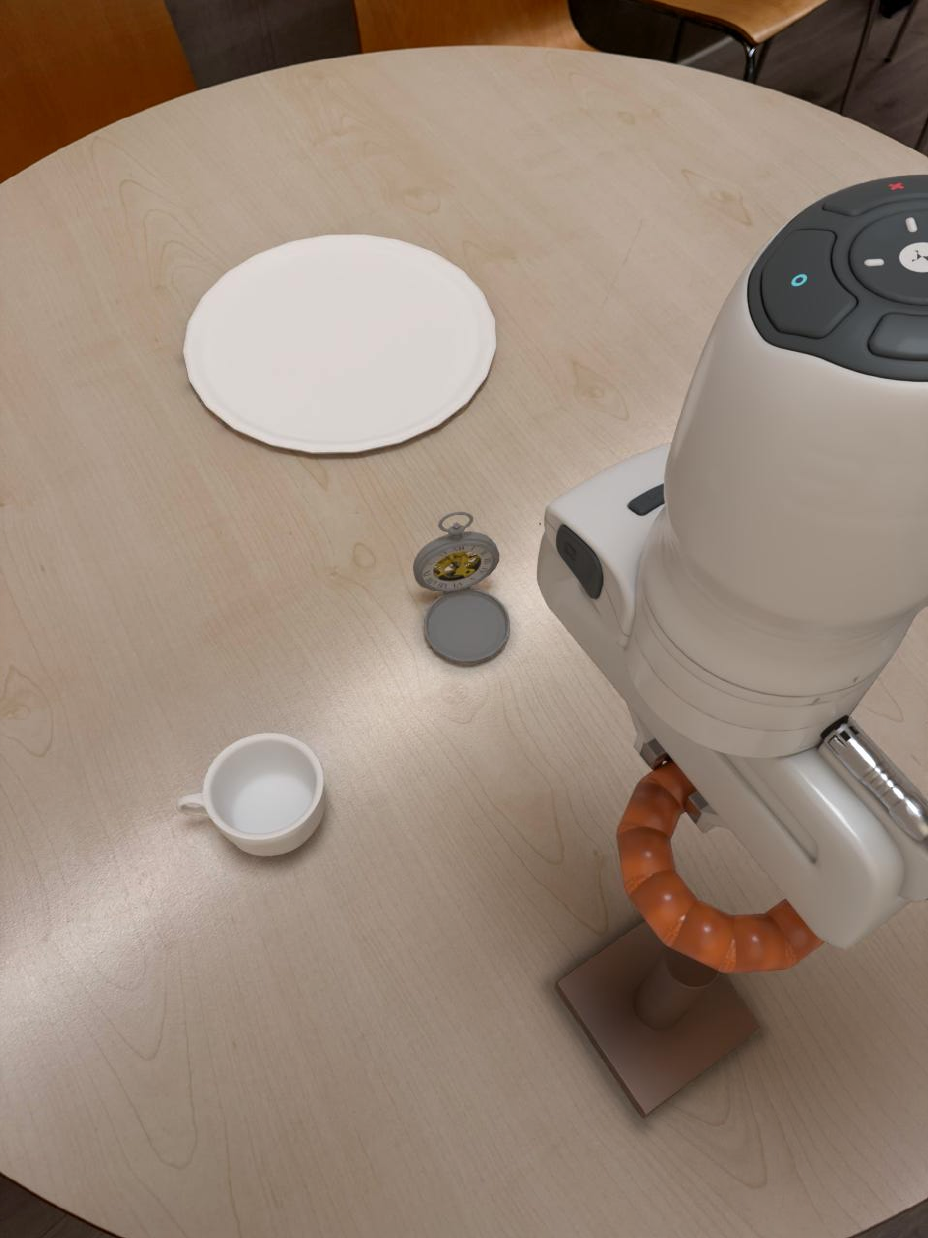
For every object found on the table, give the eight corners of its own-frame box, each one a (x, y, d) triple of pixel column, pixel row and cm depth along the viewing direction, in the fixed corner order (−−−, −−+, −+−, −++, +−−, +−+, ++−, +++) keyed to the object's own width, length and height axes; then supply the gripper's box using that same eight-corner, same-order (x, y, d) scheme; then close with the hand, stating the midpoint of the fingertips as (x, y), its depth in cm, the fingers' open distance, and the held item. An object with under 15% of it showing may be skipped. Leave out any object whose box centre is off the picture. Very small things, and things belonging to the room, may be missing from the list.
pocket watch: (469, 683, 77) (471, 611, 69) (390, 619, 80) (382, 542, 72) (540, 616, 80) (549, 539, 72) (461, 556, 83) (461, 476, 75)
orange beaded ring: (888, 895, 47) (908, 878, 45) (716, 1026, 44) (729, 1014, 42) (736, 724, 52) (748, 702, 50) (571, 832, 48) (576, 812, 46)
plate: (239, 502, 86) (237, 493, 85) (149, 288, 100) (146, 278, 99) (549, 400, 93) (550, 390, 92) (424, 212, 107) (423, 202, 106)
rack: (755, 1031, 64) (814, 985, 54) (642, 1118, 61) (681, 1087, 51) (664, 911, 68) (702, 846, 58) (554, 987, 65) (573, 934, 55)
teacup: (329, 759, 74) (320, 725, 69) (334, 862, 70) (326, 834, 65) (188, 773, 73) (171, 741, 69) (185, 878, 69) (166, 851, 64)
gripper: (1043, 815, 33) (888, 934, 44) (646, 415, 42) (604, 601, 54) (901, 921, 31) (779, 1016, 43) (519, 478, 40) (504, 657, 52)
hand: (679, 782), depth 48 cm, fingers closed on orange beaded ring, 2 cm apart
